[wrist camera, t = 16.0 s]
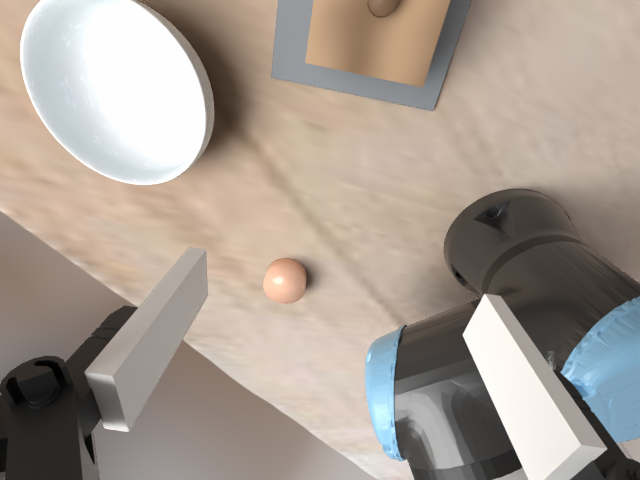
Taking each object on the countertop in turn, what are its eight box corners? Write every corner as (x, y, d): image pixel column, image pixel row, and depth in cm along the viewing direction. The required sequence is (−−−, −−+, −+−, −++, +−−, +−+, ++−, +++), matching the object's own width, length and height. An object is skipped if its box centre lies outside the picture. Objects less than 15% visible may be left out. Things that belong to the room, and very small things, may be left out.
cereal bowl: (258, 90, 34) (241, 96, 28) (182, 192, 41) (155, 215, 34) (113, -48, 29) (53, -78, 23) (53, 95, 35) (-6, 102, 29)
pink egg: (309, 262, 45) (308, 274, 43) (303, 293, 48) (301, 306, 46) (269, 255, 45) (265, 267, 42) (265, 286, 48) (261, 299, 45)
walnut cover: (434, -37, 28) (482, -83, 19) (401, 81, 32) (426, 88, 24) (330, -61, 27) (328, -120, 18) (312, 62, 32) (303, 62, 23)
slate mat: (489, -57, 27) (491, -59, 27) (431, 110, 34) (433, 111, 34) (288, -105, 26) (288, -108, 26) (271, 77, 33) (271, 77, 33)
